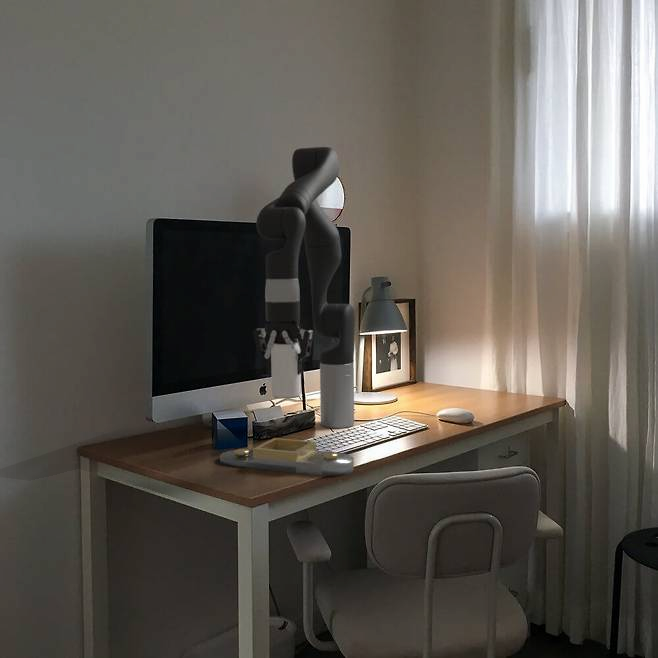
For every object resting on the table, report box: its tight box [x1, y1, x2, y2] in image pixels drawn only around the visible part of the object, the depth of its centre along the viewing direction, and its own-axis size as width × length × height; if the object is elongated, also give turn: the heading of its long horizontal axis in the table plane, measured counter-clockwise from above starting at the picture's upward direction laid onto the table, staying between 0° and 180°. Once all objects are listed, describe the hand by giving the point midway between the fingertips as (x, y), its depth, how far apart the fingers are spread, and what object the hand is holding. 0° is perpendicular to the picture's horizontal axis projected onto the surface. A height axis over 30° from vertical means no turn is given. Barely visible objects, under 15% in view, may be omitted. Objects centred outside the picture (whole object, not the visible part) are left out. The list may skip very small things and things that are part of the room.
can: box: [271, 343, 302, 400], centre depth 170 cm, size 6×6×12 cm
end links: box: [219, 437, 355, 477], centre depth 172 cm, size 32×11×4 cm, turn 67°
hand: (283, 375), depth 171 cm, fingers closed on can, 5 cm apart
